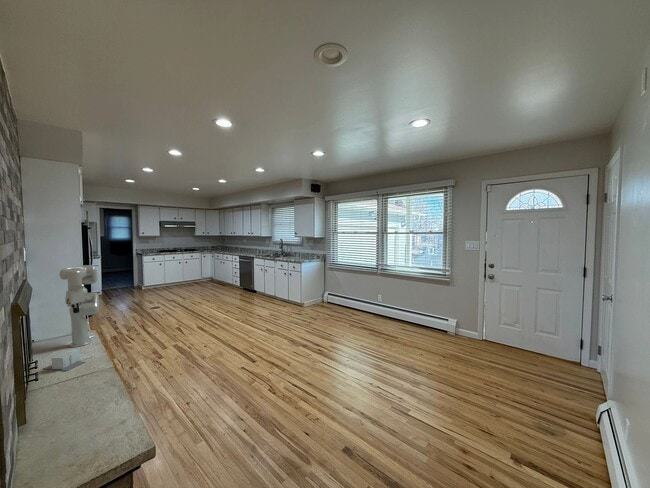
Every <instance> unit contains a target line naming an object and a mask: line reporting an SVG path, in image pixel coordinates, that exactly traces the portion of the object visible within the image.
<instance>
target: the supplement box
mask: <svg viewBox="0 0 650 488" xmlns="http://www.w3.org/2000/svg"><path fill="white" fill-rule="evenodd" d="M78 361H81V349H69V350H65V351H64V352H61V353H60V354H57V355H56V356H53V357H51V365H52V369H64V368H66V367H68V366H70V365H72V364H74V363H76V362H78Z"/></svg>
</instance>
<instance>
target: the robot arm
mask: <svg viewBox="0 0 650 488" xmlns="http://www.w3.org/2000/svg"><path fill="white" fill-rule="evenodd" d="M59 278H60V279H61V280H62V281H63V280H67V290H66V292H65V298H64V299H65V302H64V303H65V305H66V306H67V308H68V307H69V310H68V311H69V315H70V322H71V343H69V347H70V348H79V347H82V346H83V345H84V346H86V345H89V344H90V343H92V339H93V338H95V334H93V335H89V322H88V319H87V318H86V317H85V316H92V315H96V314H98V313H99V309H100V296H99V294H98V293H97V292H92V291H91V292H88V289H87V288H86V287H85V286H84V285H93V284H96V283H97V282H98V274H97V267H96V266H95V265H93V264H88V265H87V264H85V265H84V264H83V265H76V266H72V267H66V268H62V269H60V271H59Z"/></svg>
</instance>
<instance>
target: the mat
mask: <svg viewBox="0 0 650 488" xmlns="http://www.w3.org/2000/svg"><path fill="white" fill-rule="evenodd" d="M86 363H87V362H86V361H81V360H80V361H78V362H76V363H74V364H72V365H70V366H68V367H66V368H64V369H52V364H50V365H47V366H46V367H45V366H44V367H43V368H42V369H43V370H48V371H49V370H50V371H59V372H68V371H70V370H72V369H75V368H78V367H80V366H82V365H83V364H86Z"/></svg>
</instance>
